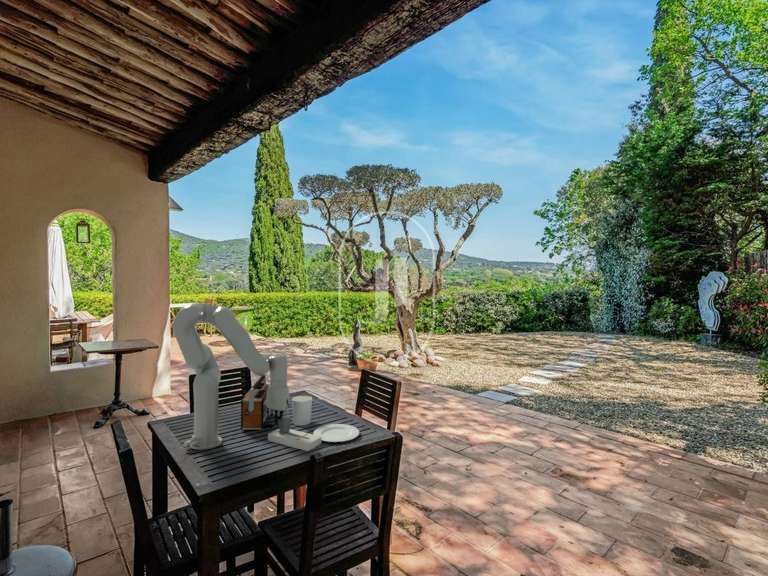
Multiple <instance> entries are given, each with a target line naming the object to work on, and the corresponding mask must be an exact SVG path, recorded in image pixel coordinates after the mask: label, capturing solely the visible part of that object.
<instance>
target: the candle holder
mask: <svg viewBox="0 0 768 576" xmlns="http://www.w3.org/2000/svg"><path fill="white" fill-rule="evenodd" d="M291 402H292V403H291V405H292V407H291V408H292V423H293V425H295V426H300V427H301V426H302V427H303V426H308V425H310V423H311V420H312V407H313V406H312V404H313V397H312V396H309V395H297V396H294V397H292V398H291Z"/></svg>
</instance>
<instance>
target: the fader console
mask: <svg viewBox="0 0 768 576" xmlns="http://www.w3.org/2000/svg"><path fill="white" fill-rule="evenodd" d="M267 441H268V442H272V443H275V444H279V445H283V446H287V447H290V448H295V449H299V450H302V451H306V452H310V451H311V449H312V450H313V449H315V448H316V446H317V447H318V446H320V445H321V444H322V442H323V441H322V437H321V436H317V435H314V434H312V433H309V432H303V431H299V430H295V429H291V428H290V431H289V432H287V433H285V434H280V433H279V428H277V429H275V430H273V431H271V432H269V433H267ZM309 450H310V451H309Z"/></svg>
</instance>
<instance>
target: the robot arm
mask: <svg viewBox="0 0 768 576" xmlns="http://www.w3.org/2000/svg"><path fill="white" fill-rule="evenodd" d="M198 323H201V324H207V325H208V324H209V325H213V327H215V328H216V329H217V331H218V332H219V333H220V335H221V336H223V338H224V339H225V340H226V341H227V342H228V344H229V345H230V346H231V347H232V349H233V350H234V352H235V353H236V354H237V356H238V357H239V358H240V359H241V361H242V362H243V364H244V365H245V366H246V367H247V368H248V369H249V370H250V372H251V373H253V374H254V375H255V376H260V377H261V376H262V375H266V374H267V373H268V372H269V379H268V382H269V384H270V385H269V386H268V389H267V396H266V407H267V408H268V409H270V410H272V412H271V413H272V415H273V417H274V422H273V423H274V425H276V426H279V425H278V420H279V419H281V418H283V415H284V414H286V413H289V412H290V411H289V408H290V404H291V401H290V400H291V399H290V389H289V386H288V357H287V355H285V354H279V353H278V354H273V355H272V354H264V353H263V354H262V353H261V352H260V351H259V350H258V349H257V347H256V346H255V344H254V343H253V341H252V339H251V336H250V334H249V332H248V330H246V328H244V327H243V325H242V324H241V323H240V322H239V321H238V319H237V318H236V317H235V315H234V312H233V310H232V309H230V308H229V307H227V306H222V305H213V304H207V303H201V302H193V303H190V304H187V305H185V306H184V307H182V308H181V309H180V310H179V311H178V312H177V313H176V315H175V316H174V319H173V322H172V331H173V334H174V337H175V339H176V341H177V345H178V347H179V349H180V352H181V354H182V356H183V359H184V361H185V364H186V365H187V367H188V368H189V369H192V370H194V372H195V376H194V379H193V383H192V386H193V387H192V389H193V403H194V404H193V435H191V438H190V439H189V440H186V441H184V442H183V444H182V445H183V447H184V448H185V447H188V446H189V448H191V449H193V450H197V451H200V450H201V451H204V450H205V451H206V450H209V449H210V450H211V449H214V448H216V447H219V446H221V444H222V443H223V438H222V437H220V436H219V423H220V421H219V412H220V411H219V407H220V405H219V404H220V403H219V402H220V401H219V385H220V381H221V377H222V373H221V372H222V371H221V369H220V367H219V364H218V361H217V360H216V357H215V356H214V353H213V351H212V349H211V347H210V346H208V344H205V343H203V341H202V339H201V335H200V334H199V332H198V330H197V328H196V327H197V325H198Z"/></svg>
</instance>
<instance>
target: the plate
mask: <svg viewBox="0 0 768 576" xmlns="http://www.w3.org/2000/svg"><path fill="white" fill-rule="evenodd" d="M313 435H317V436H321V437H322V442H325V443H331V442H334V443H333V444H337V442H340V443H345V442H350V441H352V440H355V439H357V438H358V437H359V435H360V430H359V429H358V428H357V427H355V426H353V425H350V424H346V423H345V424H344V423H333V424H332V423H331V424H326V425H321V426H319V427H317V428H316V429H315V430H314V431H313Z"/></svg>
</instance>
